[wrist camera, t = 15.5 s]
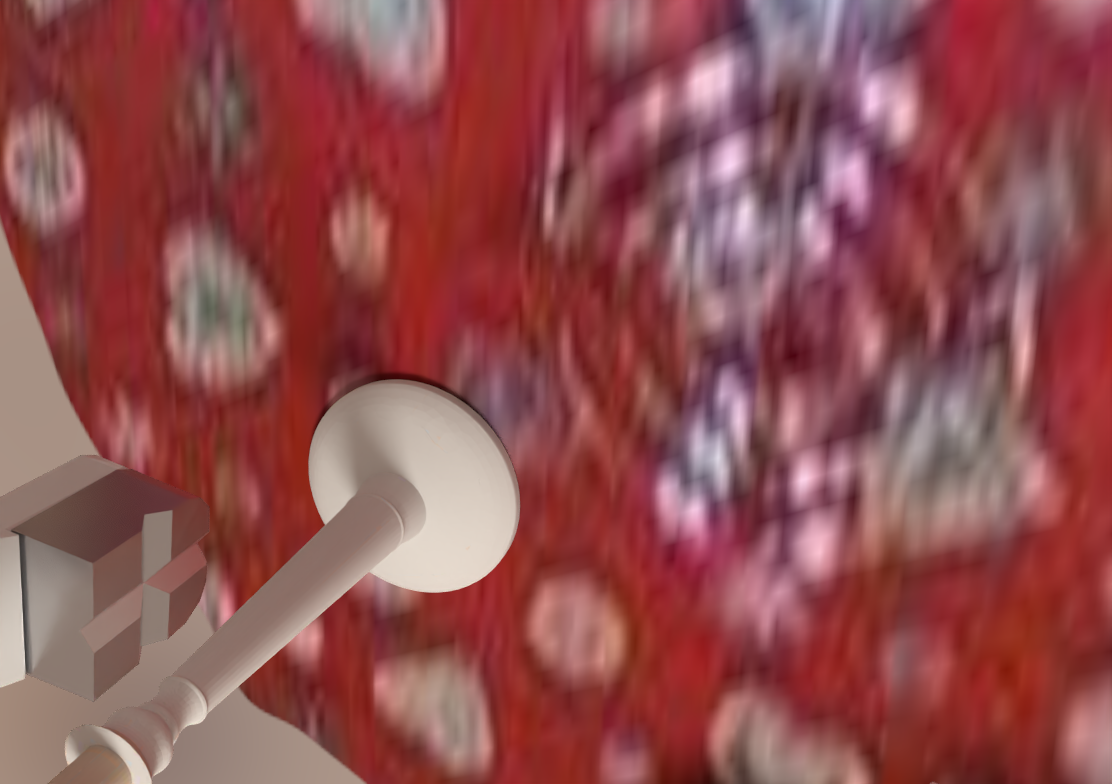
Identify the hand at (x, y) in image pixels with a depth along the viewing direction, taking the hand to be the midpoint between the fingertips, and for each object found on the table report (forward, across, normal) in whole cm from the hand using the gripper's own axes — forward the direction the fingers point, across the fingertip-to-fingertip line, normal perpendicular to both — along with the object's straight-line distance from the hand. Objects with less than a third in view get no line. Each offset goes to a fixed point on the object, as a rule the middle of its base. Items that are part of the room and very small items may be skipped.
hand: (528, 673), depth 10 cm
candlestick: (+34, +15, +21) cm, 42 cm away
